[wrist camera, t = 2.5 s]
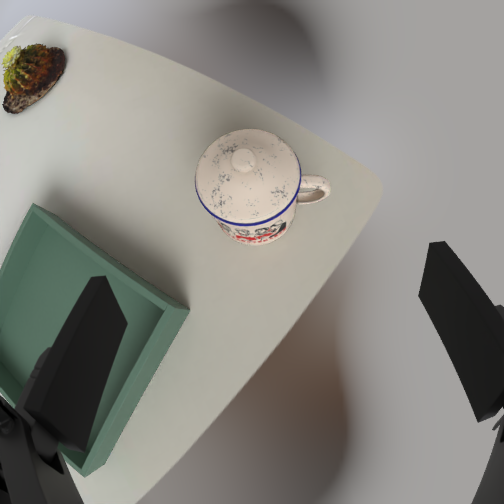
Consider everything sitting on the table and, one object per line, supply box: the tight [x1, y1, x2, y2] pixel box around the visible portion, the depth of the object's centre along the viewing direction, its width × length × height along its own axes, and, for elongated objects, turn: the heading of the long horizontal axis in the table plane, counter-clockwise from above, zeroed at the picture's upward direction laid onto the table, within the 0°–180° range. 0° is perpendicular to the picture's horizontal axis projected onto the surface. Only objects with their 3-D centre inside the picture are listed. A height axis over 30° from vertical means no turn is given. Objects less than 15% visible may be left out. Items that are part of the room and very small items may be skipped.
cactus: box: [2, 43, 65, 114], centre depth 41 cm, size 17×16×10 cm
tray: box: [0, 203, 190, 477], centre depth 32 cm, size 24×24×5 cm
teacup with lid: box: [195, 129, 331, 246], centre depth 30 cm, size 12×9×12 cm
